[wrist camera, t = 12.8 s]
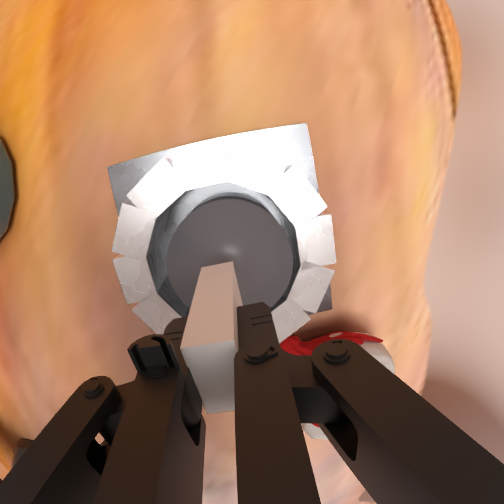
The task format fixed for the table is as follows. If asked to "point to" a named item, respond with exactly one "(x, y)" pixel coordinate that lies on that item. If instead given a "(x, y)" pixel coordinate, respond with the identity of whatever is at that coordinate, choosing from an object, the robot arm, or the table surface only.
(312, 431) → the candle
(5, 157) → the wine bottle
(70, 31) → the table surface
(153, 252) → the square flange collar
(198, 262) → the cap
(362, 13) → the table surface
